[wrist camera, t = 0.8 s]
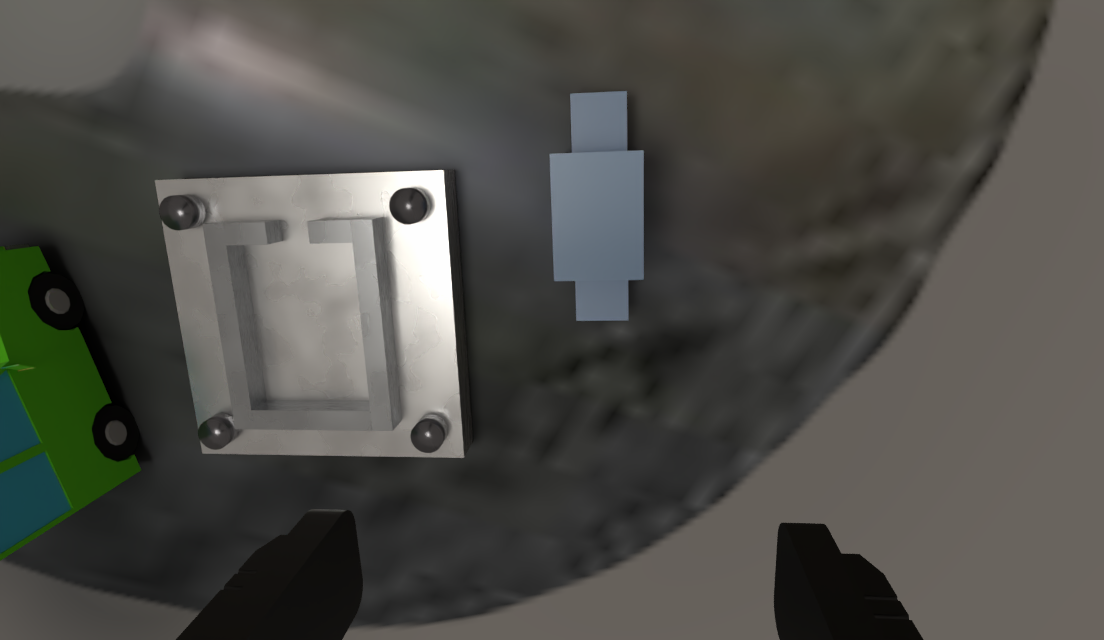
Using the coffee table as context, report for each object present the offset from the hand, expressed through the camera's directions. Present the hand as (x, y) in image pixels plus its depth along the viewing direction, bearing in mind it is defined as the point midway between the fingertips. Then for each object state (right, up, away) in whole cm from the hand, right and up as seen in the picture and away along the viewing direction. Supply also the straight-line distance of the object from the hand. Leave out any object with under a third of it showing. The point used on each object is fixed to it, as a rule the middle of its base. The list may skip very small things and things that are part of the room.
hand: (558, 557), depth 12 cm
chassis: (-12, +5, +21) cm, 25 cm away
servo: (+2, +10, +19) cm, 21 cm away
